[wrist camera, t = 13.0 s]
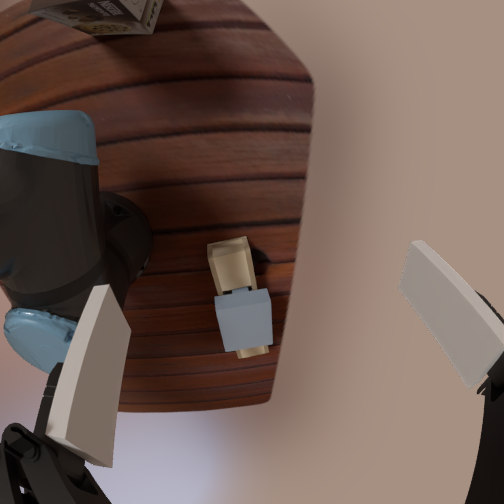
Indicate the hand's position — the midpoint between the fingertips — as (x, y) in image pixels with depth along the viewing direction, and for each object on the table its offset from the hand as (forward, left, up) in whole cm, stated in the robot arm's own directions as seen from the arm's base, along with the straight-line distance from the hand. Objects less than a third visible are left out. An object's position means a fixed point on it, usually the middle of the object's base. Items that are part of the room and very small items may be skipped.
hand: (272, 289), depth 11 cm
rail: (-2, -25, -28) cm, 38 cm away
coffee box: (-9, +23, -28) cm, 37 cm away
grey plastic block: (-2, -25, -28) cm, 37 cm away
